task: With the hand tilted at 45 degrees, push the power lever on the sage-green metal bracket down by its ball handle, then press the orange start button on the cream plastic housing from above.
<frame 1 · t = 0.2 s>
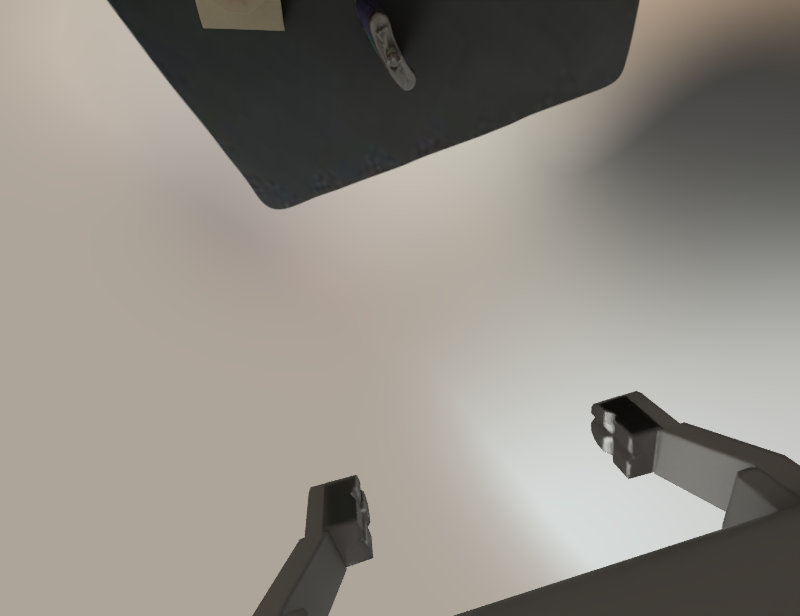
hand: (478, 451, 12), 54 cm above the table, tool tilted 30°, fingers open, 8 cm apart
flask: (377, 32, 47), on the table
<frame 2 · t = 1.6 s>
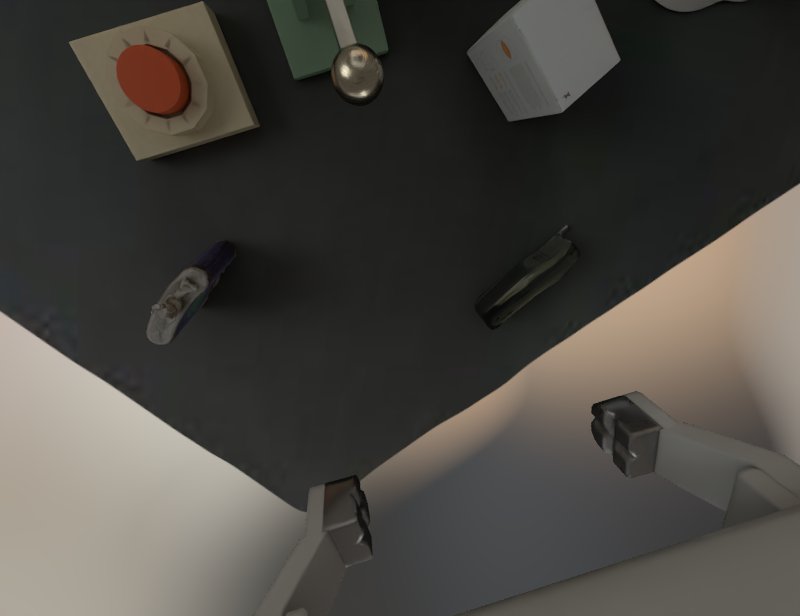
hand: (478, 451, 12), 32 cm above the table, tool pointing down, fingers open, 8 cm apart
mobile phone: (519, 270, 45), on the table
button housing: (180, 90, 32), on the table
start button: (154, 81, 28), point 5 cm above the table, slide at 0.1 cm
flask: (209, 273, 39), on the table
small box: (508, 68, 35), on the table
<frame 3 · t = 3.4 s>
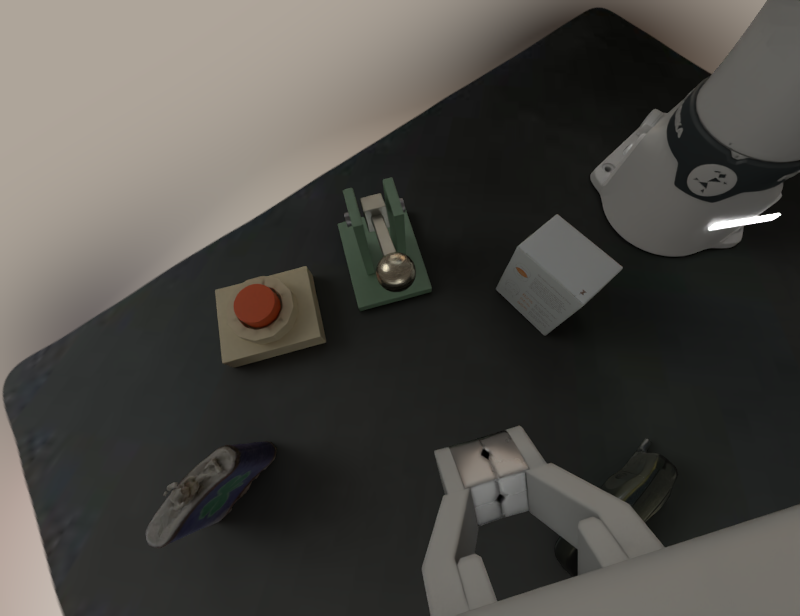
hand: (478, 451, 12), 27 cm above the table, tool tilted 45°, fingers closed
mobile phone: (605, 501, 35), on the table
button housing: (275, 319, 43), on the table
start button: (257, 305, 38), point 5 cm above the table, slide at 0.1 cm
power lever: (384, 239, 32), point 12 cm above the table, hinge at 26.0°
flask: (242, 478, 37), on the table
switch bracket: (383, 259, 45), on the table
small box: (533, 298, 42), on the table
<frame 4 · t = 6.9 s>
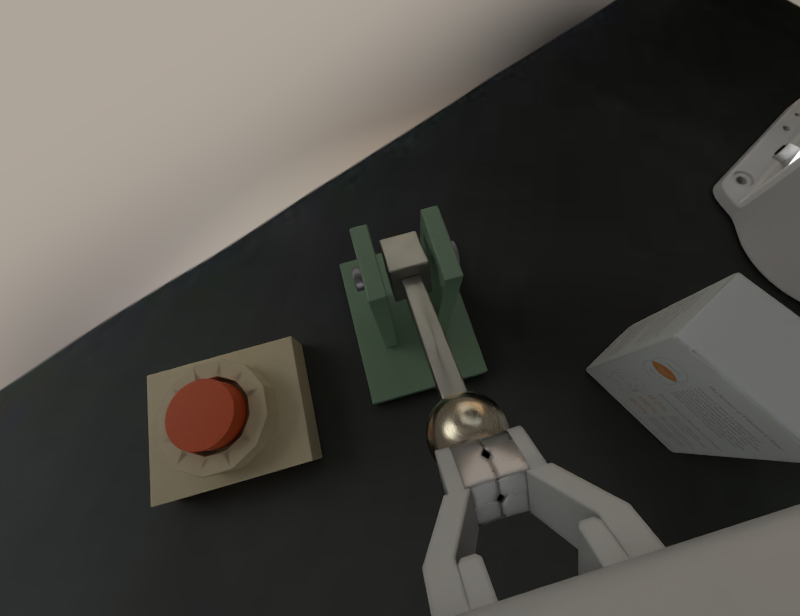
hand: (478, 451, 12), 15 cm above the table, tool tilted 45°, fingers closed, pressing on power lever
button housing: (243, 417, 27), on the table
start button: (207, 414, 23), point 5 cm above the table, slide at 0.1 cm
power lever: (431, 335, 17), point 12 cm above the table, hinge at 21.8°, touching gripper
switch bracket: (409, 318, 29), on the table
small box: (646, 385, 27), on the table
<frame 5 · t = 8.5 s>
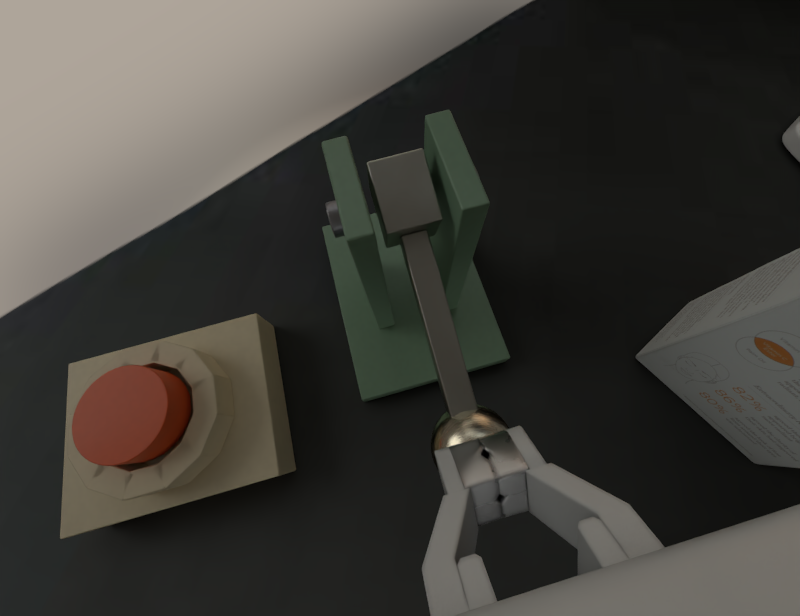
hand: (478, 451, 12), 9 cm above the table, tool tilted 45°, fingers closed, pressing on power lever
button housing: (196, 417, 21), on the table
start button: (134, 413, 17), point 5 cm above the table, slide at 0.1 cm
power lever: (437, 324, 14), point 8 cm above the table, hinge at -17.3°, touching gripper
switch bracket: (409, 294, 24), on the table
small box: (713, 377, 21), on the table
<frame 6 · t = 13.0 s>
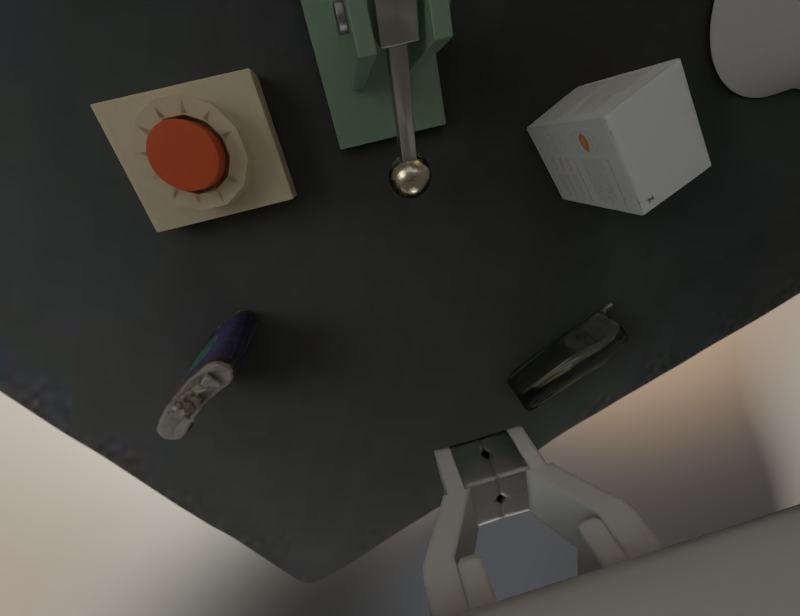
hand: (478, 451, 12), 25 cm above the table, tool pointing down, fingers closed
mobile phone: (556, 345, 42), on the table
button housing: (212, 155, 29), on the table
start button: (188, 156, 24), point 5 cm above the table, slide at 0.1 cm
power lever: (402, 108, 23), point 8 cm above the table, hinge at -27.7°
flask: (226, 343, 35), on the table
switch bracket: (374, 53, 27), on the table
small box: (567, 145, 33), on the table
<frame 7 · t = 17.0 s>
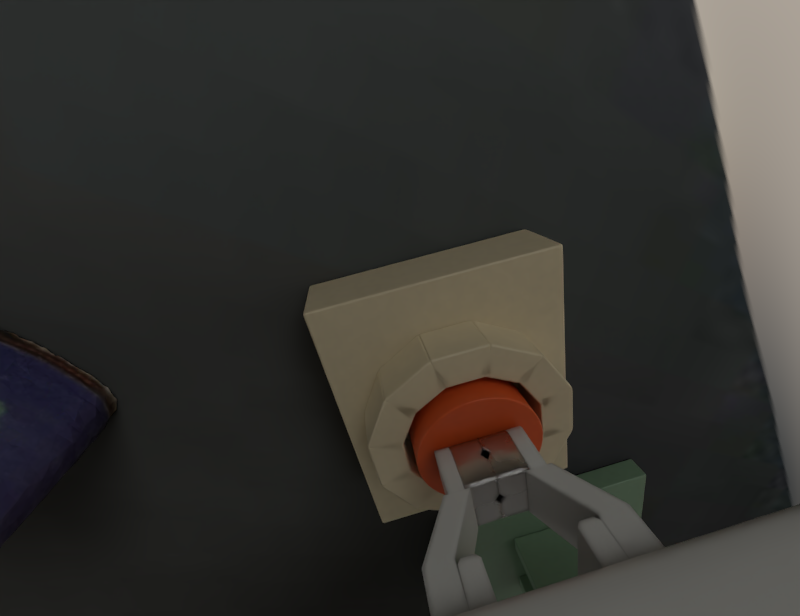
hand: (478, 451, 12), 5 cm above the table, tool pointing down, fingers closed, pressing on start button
button housing: (441, 367, 16), on the table
start button: (472, 432, 13), point 4 cm above the table, slide at -0.7 cm, touching gripper
switch bracket: (540, 533, 23), on the table
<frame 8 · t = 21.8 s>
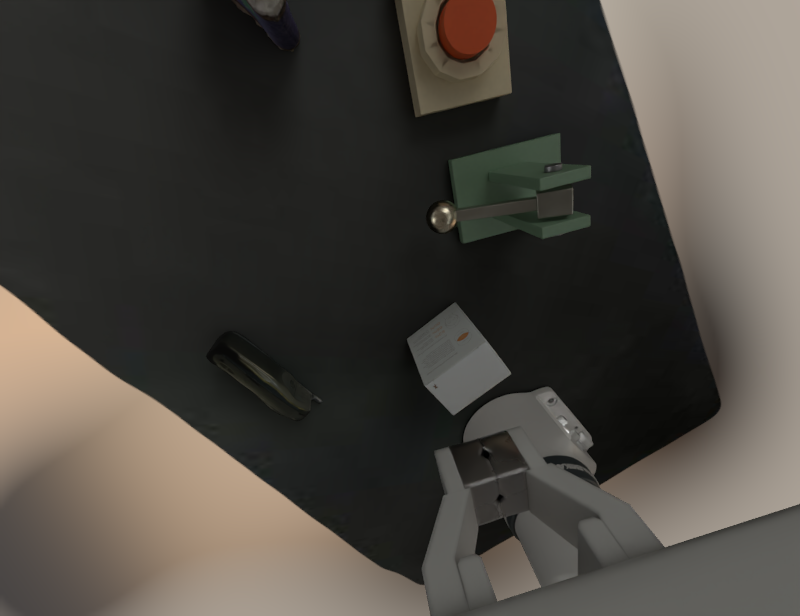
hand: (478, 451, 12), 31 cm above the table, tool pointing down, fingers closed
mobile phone: (273, 368, 44), on the table
button housing: (449, 41, 33), on the table
start button: (466, 24, 29), point 5 cm above the table, slide at 0.1 cm
power lever: (494, 209, 33), point 8 cm above the table, hinge at -27.7°
flask: (253, 1, 30), on the table
switch bracket: (505, 189, 40), on the table
small box: (441, 333, 46), on the table
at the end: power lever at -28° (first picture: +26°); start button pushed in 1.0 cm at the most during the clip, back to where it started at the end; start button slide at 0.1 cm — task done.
